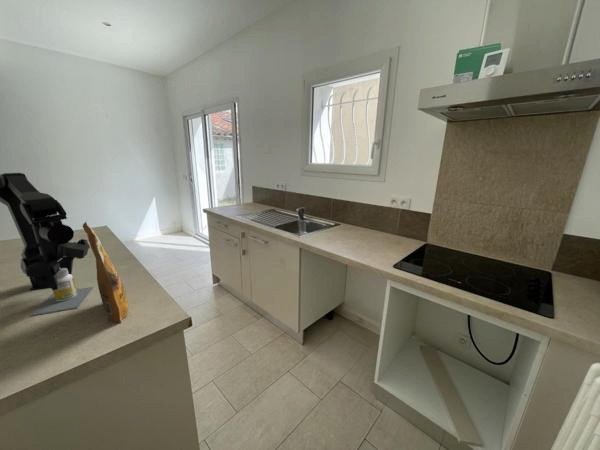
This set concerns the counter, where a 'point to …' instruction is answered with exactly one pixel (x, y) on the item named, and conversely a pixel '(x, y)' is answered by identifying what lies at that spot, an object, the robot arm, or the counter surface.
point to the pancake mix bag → (108, 281)
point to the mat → (62, 303)
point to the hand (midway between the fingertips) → (62, 282)
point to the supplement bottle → (65, 286)
